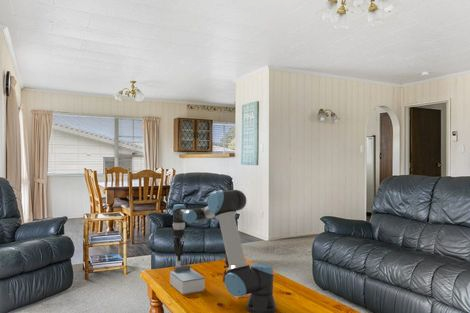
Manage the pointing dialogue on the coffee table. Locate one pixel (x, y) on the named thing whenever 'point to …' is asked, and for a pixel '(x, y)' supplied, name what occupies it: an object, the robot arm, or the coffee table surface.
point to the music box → (225, 267)
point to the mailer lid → (186, 273)
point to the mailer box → (187, 285)
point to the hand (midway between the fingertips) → (178, 265)
